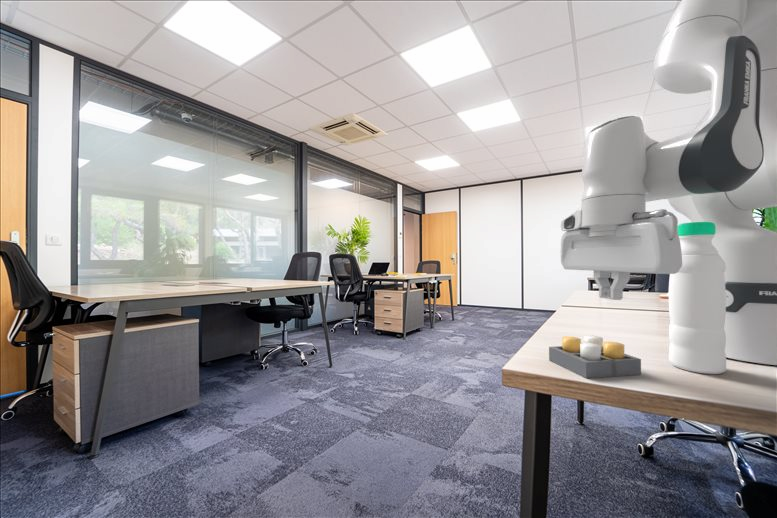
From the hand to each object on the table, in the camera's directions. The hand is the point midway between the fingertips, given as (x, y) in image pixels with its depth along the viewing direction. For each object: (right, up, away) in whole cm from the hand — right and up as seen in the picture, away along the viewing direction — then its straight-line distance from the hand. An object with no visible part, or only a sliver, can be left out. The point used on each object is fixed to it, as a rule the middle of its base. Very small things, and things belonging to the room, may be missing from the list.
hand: (610, 298), depth 53 cm
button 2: (-4, -10, -1) cm, 11 cm away
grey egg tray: (-2, -12, +2) cm, 12 cm away
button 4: (+1, -10, 0) cm, 10 cm away
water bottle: (+16, -12, +1) cm, 20 cm away
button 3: (0, -10, +4) cm, 11 cm away
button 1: (-4, -10, +4) cm, 12 cm away
